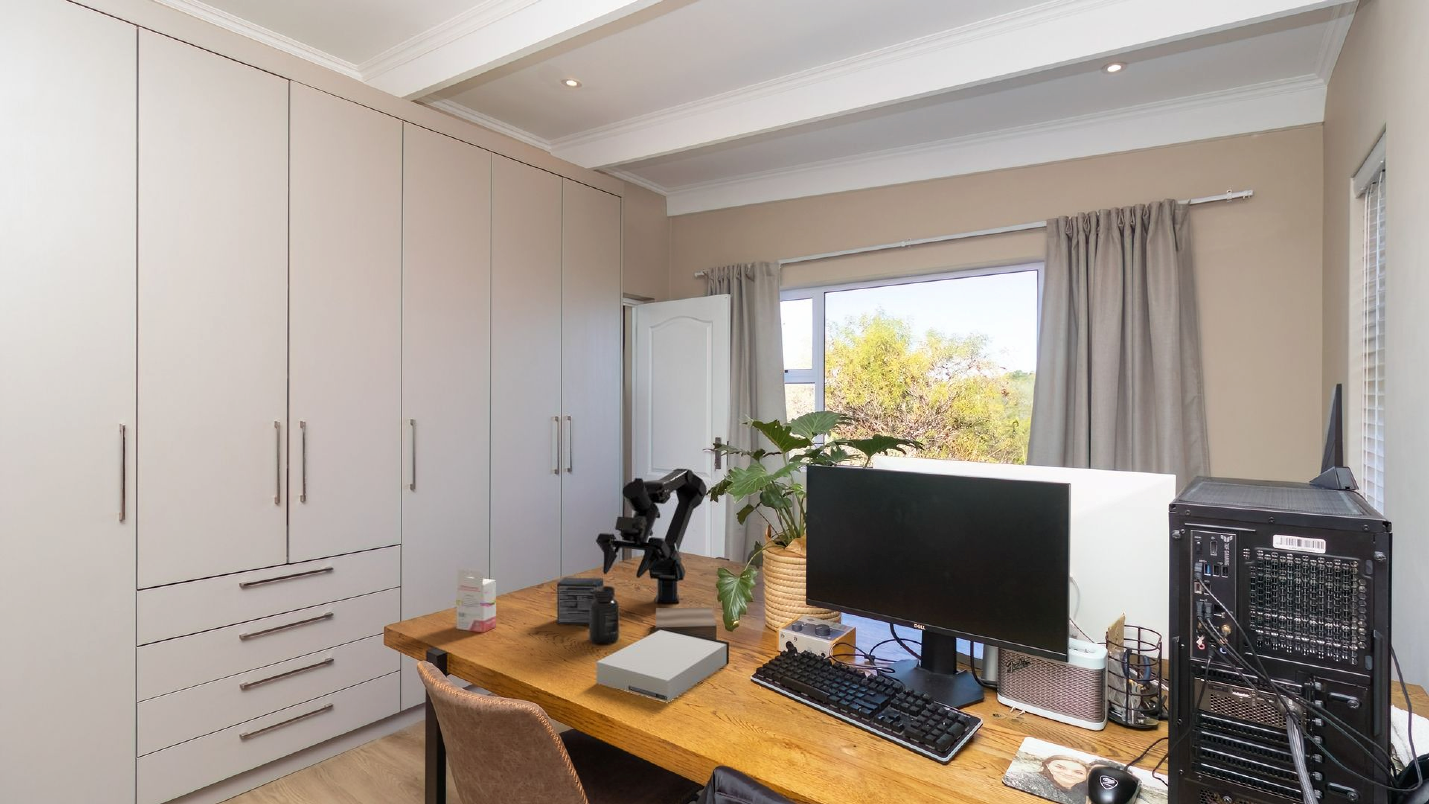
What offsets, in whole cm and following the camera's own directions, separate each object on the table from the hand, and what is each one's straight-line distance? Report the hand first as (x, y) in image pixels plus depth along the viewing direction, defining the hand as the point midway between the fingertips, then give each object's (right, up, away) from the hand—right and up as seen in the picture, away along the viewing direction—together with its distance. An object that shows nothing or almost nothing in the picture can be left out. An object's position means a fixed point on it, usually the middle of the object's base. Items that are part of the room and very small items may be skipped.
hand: (620, 575), depth 165 cm
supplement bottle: (-3, -13, -7) cm, 16 cm away
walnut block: (+16, -13, -3) cm, 21 cm away
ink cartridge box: (-36, -13, +1) cm, 38 cm away
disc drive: (+13, -14, -26) cm, 32 cm away
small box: (-11, -14, +6) cm, 19 cm away
